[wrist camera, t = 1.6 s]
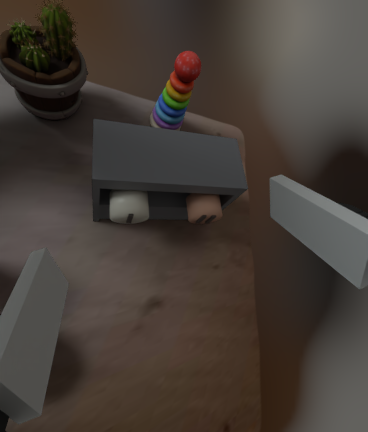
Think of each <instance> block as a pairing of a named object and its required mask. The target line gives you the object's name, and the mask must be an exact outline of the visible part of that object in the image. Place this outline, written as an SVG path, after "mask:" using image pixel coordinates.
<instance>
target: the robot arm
mask: <svg viewBox="0 0 368 432" xmlns="http://www.w3.org/2000/svg"><path fill="white" fill-rule="evenodd" d="M270 217H272V218H273V219H274V220H275V221H276V222H278V223H279V224H280V225H281V226H282V227H284V228H285V229H286V230H287V231H289V232H290V233H291V234H292V235H294V236H295V237H296V238H297V239H298V240H300V241H301V242H302V243H303V244H305V245H306V246H307V247H308V248H309V249H311V250H312V251H313V252H314V253H316V254H317V255H318V256H319V257H321V258H322V259H323V260H324V261H325V262H327V263H328V264H329V265H330V266H331V267H333V268H334V269H335V270H336V271H338V272H339V273H340V274H341V275H342V276H344V277H345V278H346V279H347V280H349V281H350V282H351V283H352V284H354V285H355V286H356V287H357V288H358V289H362V288H364V287H366V286H368V213H366V212H363V211H362V210H360V209H358V208H356V207H354V206H352V205H347V204H344V203H338V204H337V203H335V202H333V201H331V200H330V199H328V198H326V197H324V196H322V195H320V194H318V193H316V192H314V191H312V190H310V189H308V188H306V187H304V186H302V185H300V184H298V183H297V182H295V181H293V180H291V179H289V178H287V177H285V176H283V175H279V176H275V177H272V178H270ZM68 286H69V283H68V281H67V279H66V278H65V276H64V275H63V273H62V272H61V270H60V268H59V267H58V265H57V264H56V262H55V261H54V259H53V257H52V256H51V254H50V253H49V251H48V250H47V248H42V249H39V250H36V251H33V252H31V253H30V255H29V258H28V260H27V262H26V264H25V266H24V268H23V270H22V272H21V274H20V276H19V278H18V280H17V282H16V285H15V287H14V289H13V291H12V293H11V295H10V297H9V299H8V301H7V303H6V305H5V307H4V309H3V311H2V314H1V316H0V432H6V431H5V429H6V426H7V422H8V419H9V418H10V419H12V420H13V421H15V422H16V423H17V424H21V423H23V422H26V421H28V420H31V419H33V418H36V417H38V416H41V413H42V409H43V404H44V399H45V395H46V390H47V385H48V381H49V376H50V371H51V366H52V362H53V357H54V352H55V348H56V343H57V338H58V333H59V329H60V324H61V319H62V315H63V310H64V305H65V301H66V296H67V291H68Z"/></svg>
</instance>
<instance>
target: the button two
mask: <svg viewBox="0 0 368 432" xmlns="http://www.w3.org/2000/svg"><path fill="white" fill-rule="evenodd" d="M186 204H187V212H188V220H189V222H190V223H193V224H207V223H212V222H215V221H218V220H219V219H221V218H222V217H223V214H222V208H221V203H220V197H219V194H201V193H192V194H190V195H188V196H187V198H186Z"/></svg>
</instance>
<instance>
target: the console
mask: <svg viewBox="0 0 368 432" xmlns="http://www.w3.org/2000/svg"><path fill="white" fill-rule="evenodd" d="M113 189H122V190H142V191H147V193H148V206H149V218H148V219H172V220H188V212H187V204H186V198H187V196H188V195H190V194H192V193H201V194H219V197H220V203H221V208H222V210H223V209H224V208H226V207H227V206H228V205H229V204H230V203H232V202H233V201H234V200H235V199H236V198H238V197H239V196H240V195H241V194H242V193H244V192H245V191H246V190H247V189H248V187H247V182H246V178H245V174H244V169H243V165H242V160H241V156H240V152H239V147H238V143H237V139H233V138H226V137H219V136H212V135H205V134H198V133H191V132H184V131H177V130H170V129H163V128H156V127H149V126H142V125H135V124H128V123H121V122H114V121H107V120H100V119H93V156H92V199H93V221H99V219H110V191H111V190H113Z"/></svg>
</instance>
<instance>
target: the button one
mask: <svg viewBox="0 0 368 432" xmlns="http://www.w3.org/2000/svg"><path fill="white" fill-rule="evenodd" d="M148 218H149V206H148V193H147V191H142V190H122V189H113V190H111V191H110V219H111V220H112V221H113V222H116V223H121V224H134V223H140V222H143V221H146V220H147V219H148Z"/></svg>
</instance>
